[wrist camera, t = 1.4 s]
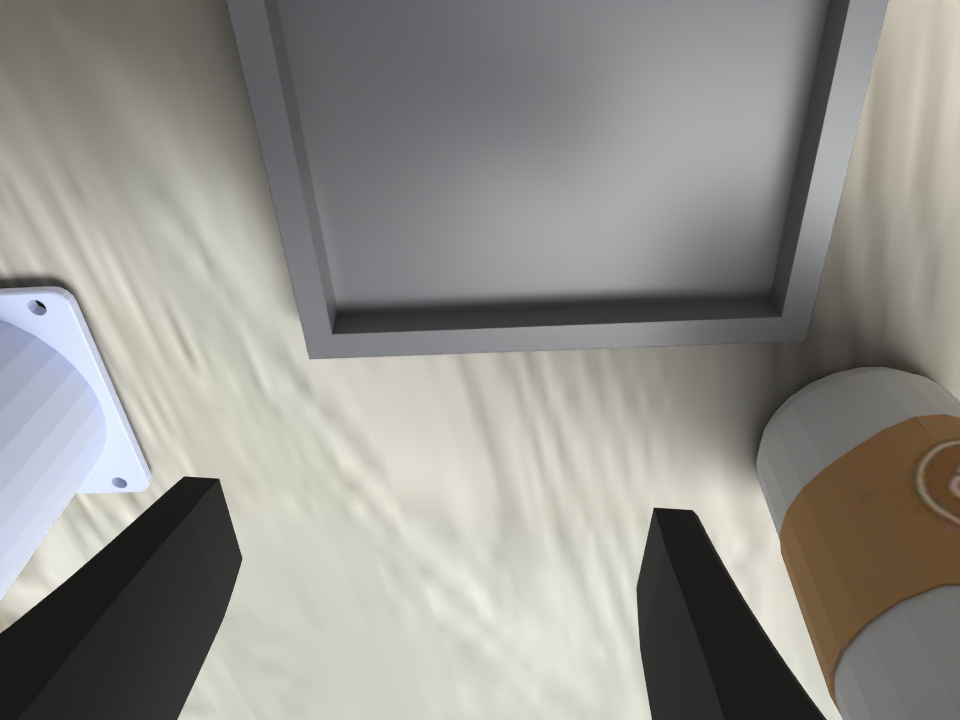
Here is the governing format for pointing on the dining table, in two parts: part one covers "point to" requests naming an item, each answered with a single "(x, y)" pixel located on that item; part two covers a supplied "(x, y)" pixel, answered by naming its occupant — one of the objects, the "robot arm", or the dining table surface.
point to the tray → (554, 166)
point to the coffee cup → (873, 536)
